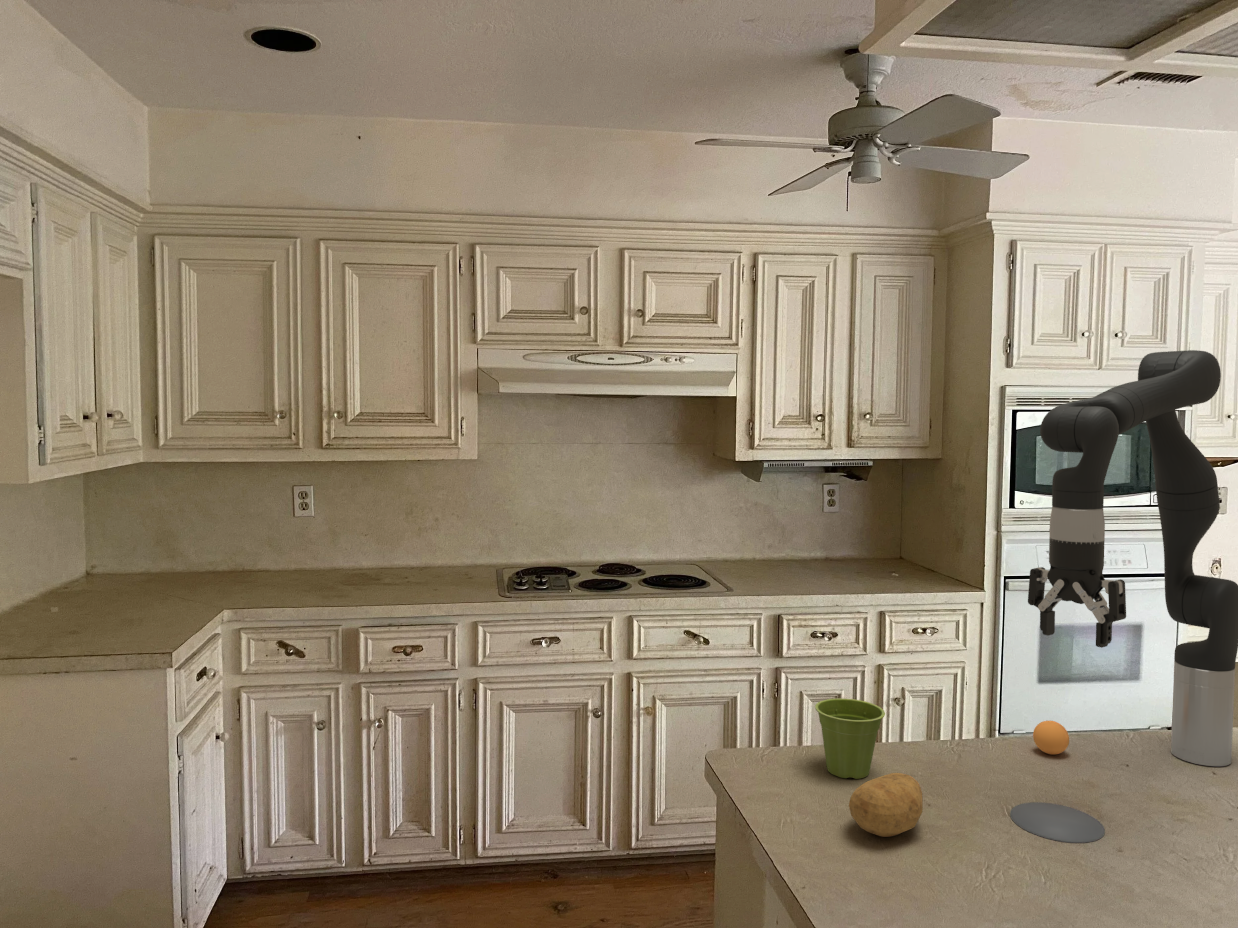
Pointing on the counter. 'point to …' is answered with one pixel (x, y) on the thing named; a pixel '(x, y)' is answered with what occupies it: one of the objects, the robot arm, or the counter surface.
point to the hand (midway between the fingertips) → (1074, 640)
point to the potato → (887, 804)
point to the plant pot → (849, 735)
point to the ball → (1051, 737)
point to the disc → (1057, 822)
